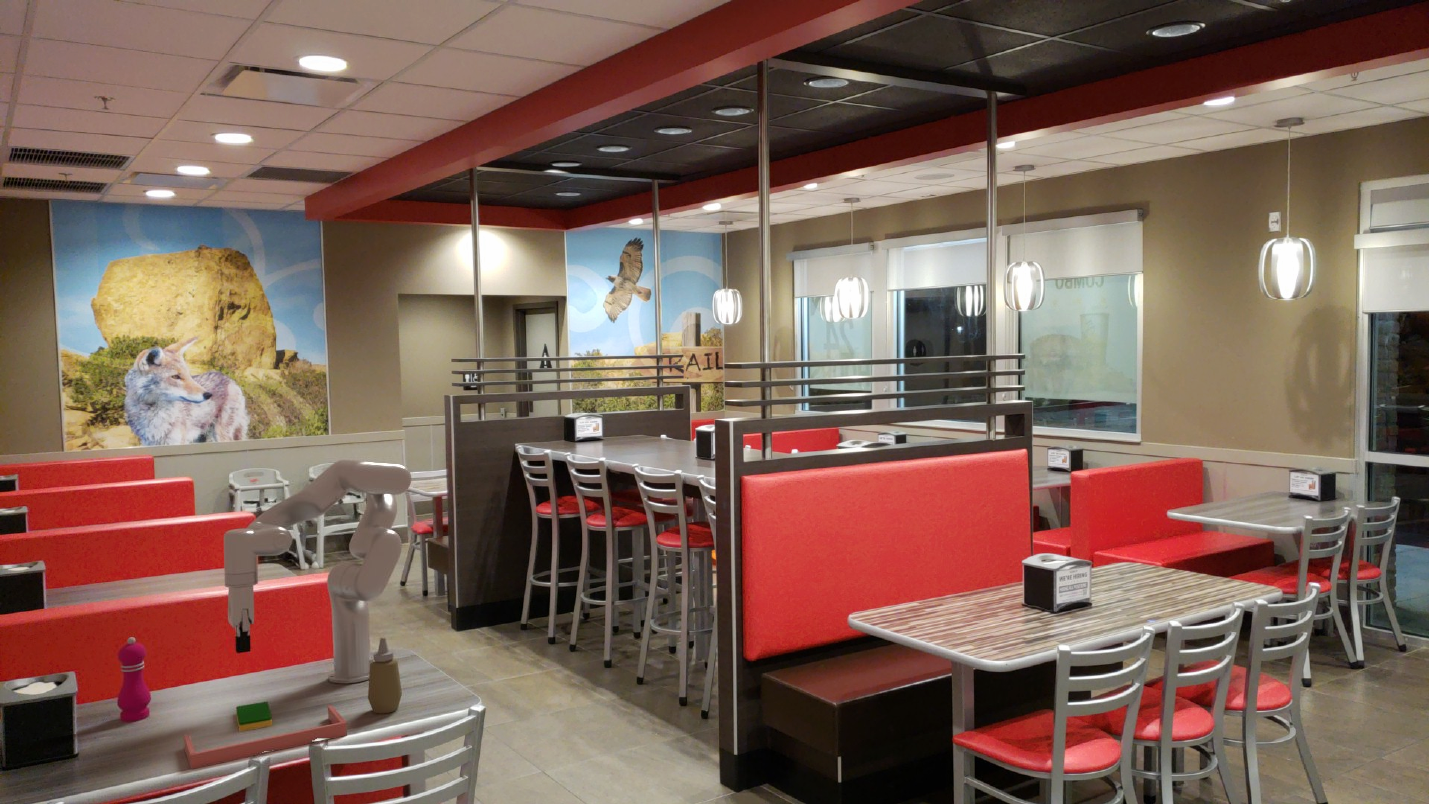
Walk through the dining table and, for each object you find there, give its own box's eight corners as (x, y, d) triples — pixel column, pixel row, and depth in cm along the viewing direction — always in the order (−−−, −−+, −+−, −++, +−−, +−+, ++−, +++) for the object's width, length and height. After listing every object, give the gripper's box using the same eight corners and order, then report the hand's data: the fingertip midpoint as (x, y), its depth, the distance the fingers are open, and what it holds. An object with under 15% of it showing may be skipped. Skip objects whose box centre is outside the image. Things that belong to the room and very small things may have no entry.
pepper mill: (141, 710, 252) (137, 632, 251) (157, 715, 248) (154, 635, 247) (111, 719, 246) (108, 639, 245) (128, 724, 242) (124, 642, 241)
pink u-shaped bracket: (332, 717, 243) (332, 705, 243) (346, 735, 231) (346, 722, 231) (184, 748, 226) (183, 735, 226) (191, 769, 213) (190, 755, 213)
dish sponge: (239, 733, 235) (238, 723, 235) (236, 715, 248) (236, 706, 248) (272, 727, 239) (271, 717, 239) (267, 710, 251) (267, 700, 251)
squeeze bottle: (389, 717, 242) (386, 643, 242) (361, 714, 245) (358, 641, 244) (409, 706, 250) (406, 634, 249) (382, 703, 253) (379, 632, 252)
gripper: (220, 576, 254) (222, 647, 255) (229, 585, 242) (230, 661, 242) (252, 572, 258) (254, 643, 259) (262, 581, 246) (264, 656, 246)
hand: (243, 651), depth 251 cm, fingers closed
